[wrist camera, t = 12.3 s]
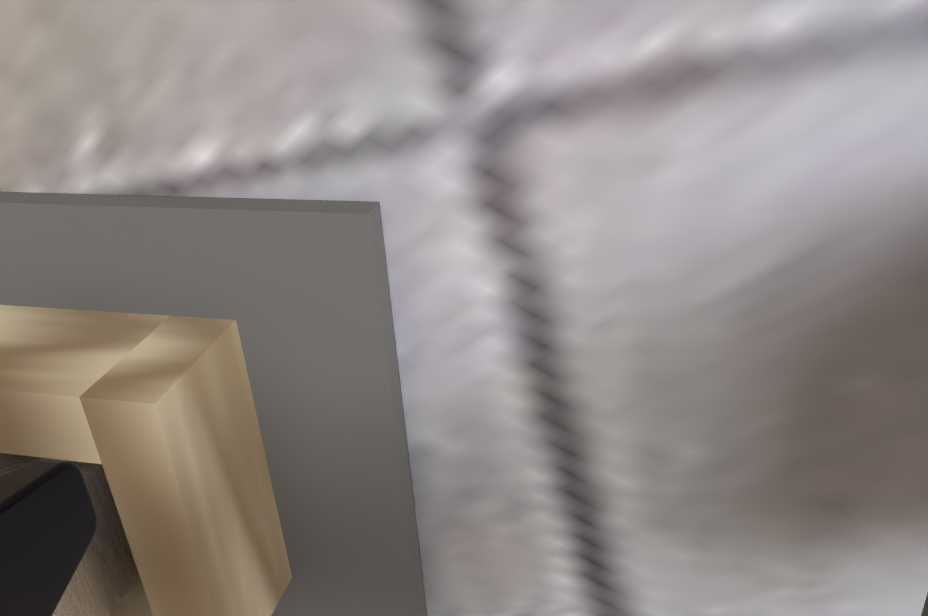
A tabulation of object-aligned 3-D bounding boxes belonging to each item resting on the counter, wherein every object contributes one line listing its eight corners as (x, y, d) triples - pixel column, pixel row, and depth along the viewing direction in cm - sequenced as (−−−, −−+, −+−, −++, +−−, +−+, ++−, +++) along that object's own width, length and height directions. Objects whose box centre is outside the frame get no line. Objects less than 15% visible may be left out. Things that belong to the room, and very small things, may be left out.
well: (236, 320, 22) (154, 404, 19) (292, 577, 27) (235, 682, 23) (-57, 301, 24) (-178, 373, 21) (41, 541, 29) (-46, 633, 25)
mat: (379, 202, 20) (368, 213, 20) (430, 643, 28) (424, 663, 27) (-191, 186, 24) (-216, 196, 24) (-13, 575, 32) (-28, 591, 31)
